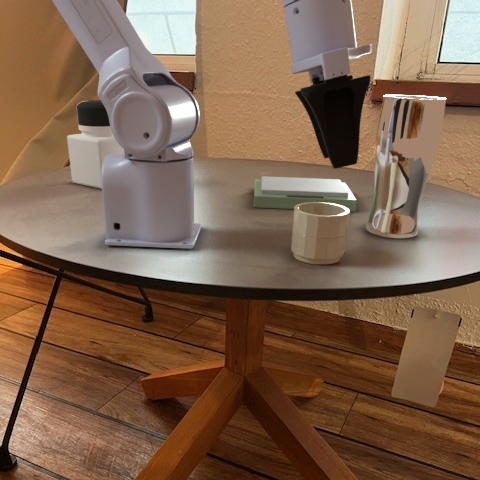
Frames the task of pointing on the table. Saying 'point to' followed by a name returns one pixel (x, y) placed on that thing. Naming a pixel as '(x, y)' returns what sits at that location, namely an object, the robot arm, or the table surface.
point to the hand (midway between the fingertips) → (339, 160)
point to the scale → (301, 192)
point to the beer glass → (403, 161)
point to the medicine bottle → (91, 144)
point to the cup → (319, 232)
